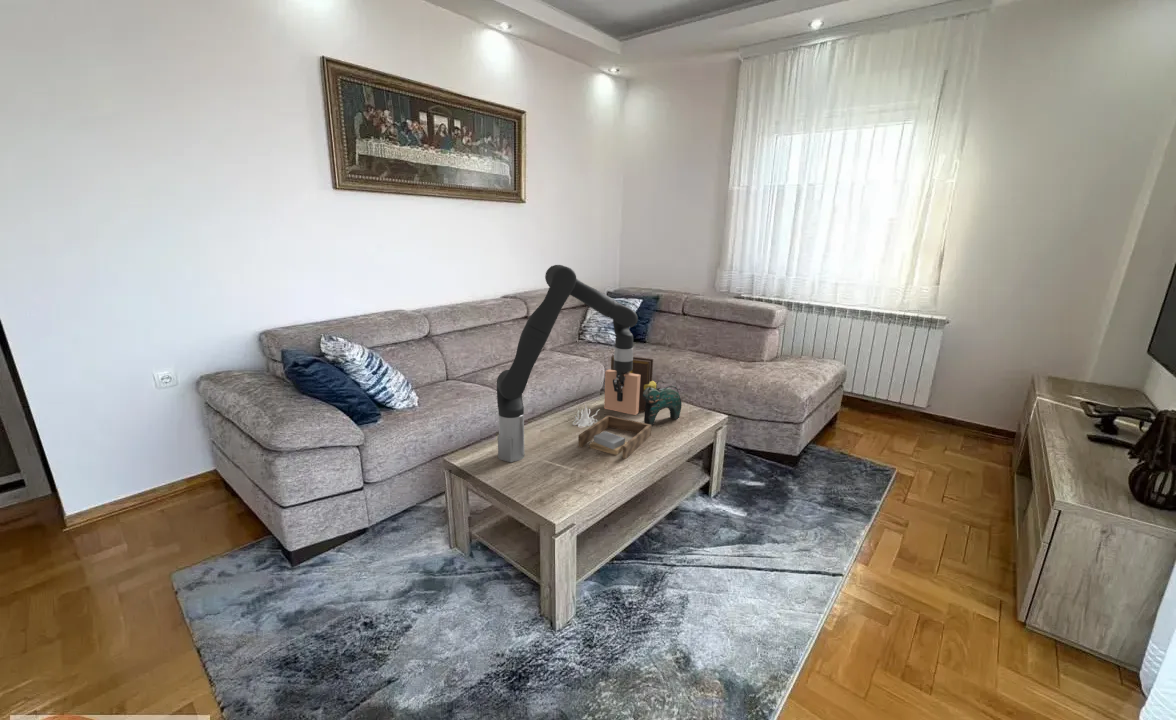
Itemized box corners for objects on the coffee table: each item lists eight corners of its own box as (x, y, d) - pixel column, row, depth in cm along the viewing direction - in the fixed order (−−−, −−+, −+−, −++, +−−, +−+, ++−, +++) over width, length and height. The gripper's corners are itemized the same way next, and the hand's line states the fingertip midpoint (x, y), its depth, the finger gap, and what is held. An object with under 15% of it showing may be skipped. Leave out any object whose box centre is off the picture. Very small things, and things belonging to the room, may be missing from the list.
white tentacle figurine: (569, 424, 216) (569, 404, 214) (588, 417, 225) (588, 398, 222) (583, 430, 210) (584, 409, 208) (602, 422, 219) (603, 403, 216)
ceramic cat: (646, 428, 213) (649, 384, 208) (638, 423, 218) (640, 380, 213) (682, 420, 222) (685, 378, 217) (673, 416, 228) (676, 374, 223)
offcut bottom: (616, 456, 187) (617, 450, 187) (589, 449, 193) (589, 443, 192) (627, 448, 195) (627, 442, 194) (600, 441, 201) (600, 435, 200)
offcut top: (613, 449, 188) (613, 443, 187) (593, 442, 194) (593, 436, 193) (624, 444, 193) (624, 438, 192) (605, 436, 199) (605, 431, 198)
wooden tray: (625, 459, 184) (625, 446, 182) (578, 446, 193) (578, 435, 192) (651, 435, 205) (651, 424, 204) (607, 426, 215) (607, 415, 213)
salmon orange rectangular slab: (635, 415, 195) (637, 376, 191) (604, 408, 202) (605, 370, 198) (638, 412, 198) (640, 374, 194) (607, 406, 204) (608, 369, 200)
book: (607, 408, 237) (609, 357, 230) (613, 402, 244) (615, 353, 238) (652, 415, 229) (655, 363, 222) (656, 409, 236) (659, 358, 230)
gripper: (624, 363, 187) (622, 406, 191) (639, 356, 199) (637, 396, 203) (606, 360, 190) (605, 403, 195) (622, 353, 202) (620, 393, 206)
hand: (621, 399), depth 199 cm, fingers closed on salmon orange rectangular slab, 3 cm apart
